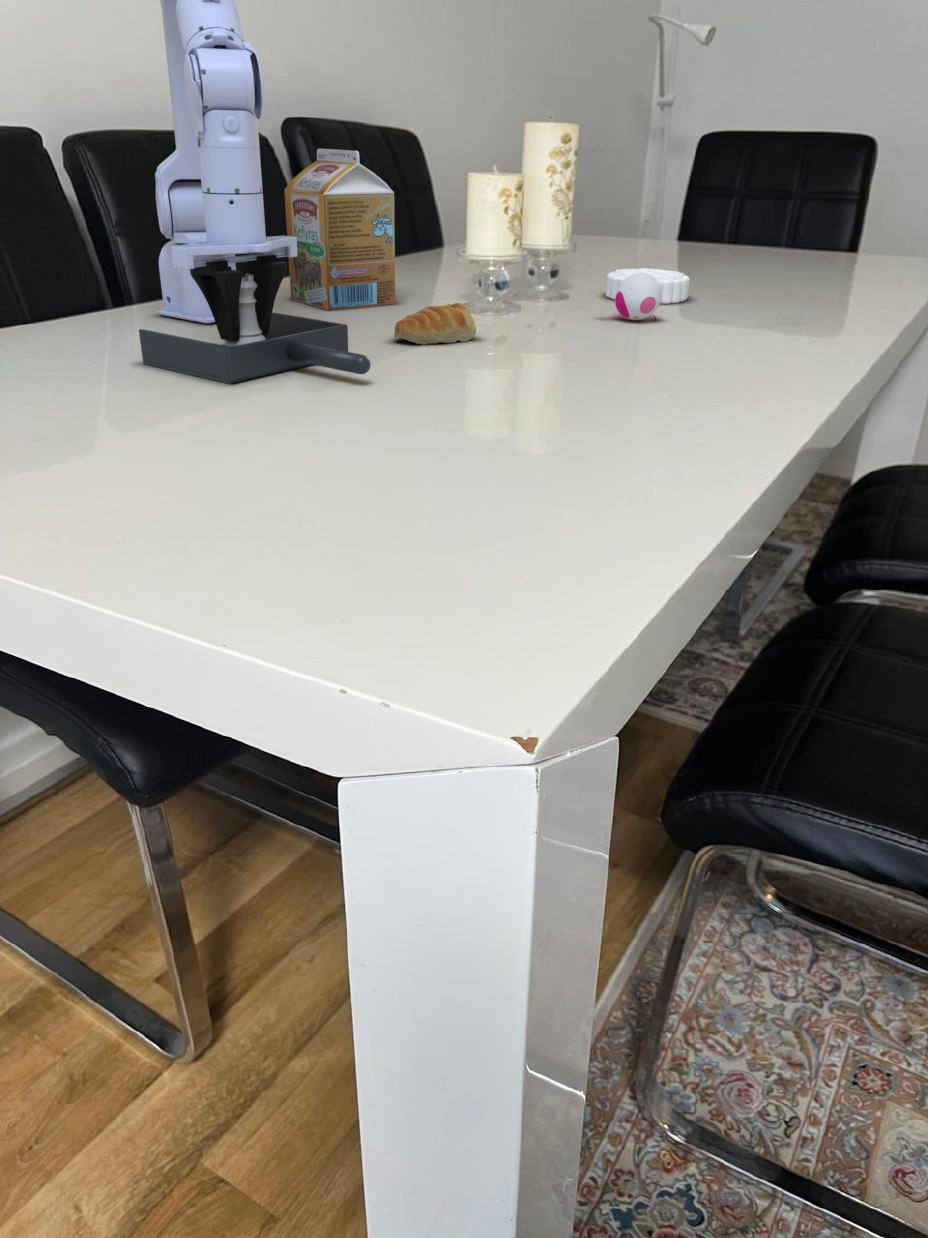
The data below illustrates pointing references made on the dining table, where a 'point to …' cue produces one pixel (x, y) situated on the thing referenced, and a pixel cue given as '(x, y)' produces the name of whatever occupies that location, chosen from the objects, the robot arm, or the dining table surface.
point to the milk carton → (341, 234)
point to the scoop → (257, 351)
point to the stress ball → (638, 297)
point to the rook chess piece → (247, 314)
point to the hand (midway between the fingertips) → (244, 336)
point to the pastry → (437, 325)
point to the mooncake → (670, 281)
